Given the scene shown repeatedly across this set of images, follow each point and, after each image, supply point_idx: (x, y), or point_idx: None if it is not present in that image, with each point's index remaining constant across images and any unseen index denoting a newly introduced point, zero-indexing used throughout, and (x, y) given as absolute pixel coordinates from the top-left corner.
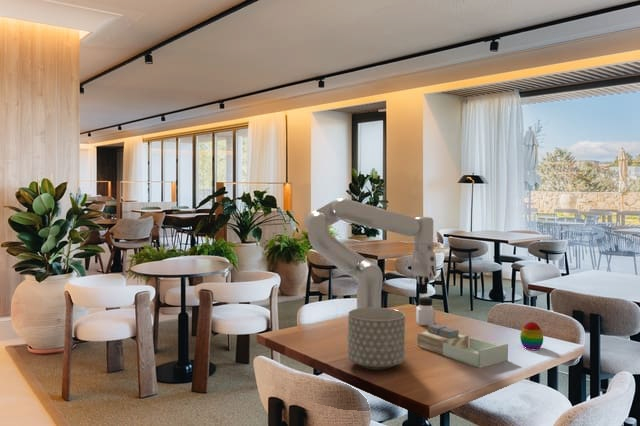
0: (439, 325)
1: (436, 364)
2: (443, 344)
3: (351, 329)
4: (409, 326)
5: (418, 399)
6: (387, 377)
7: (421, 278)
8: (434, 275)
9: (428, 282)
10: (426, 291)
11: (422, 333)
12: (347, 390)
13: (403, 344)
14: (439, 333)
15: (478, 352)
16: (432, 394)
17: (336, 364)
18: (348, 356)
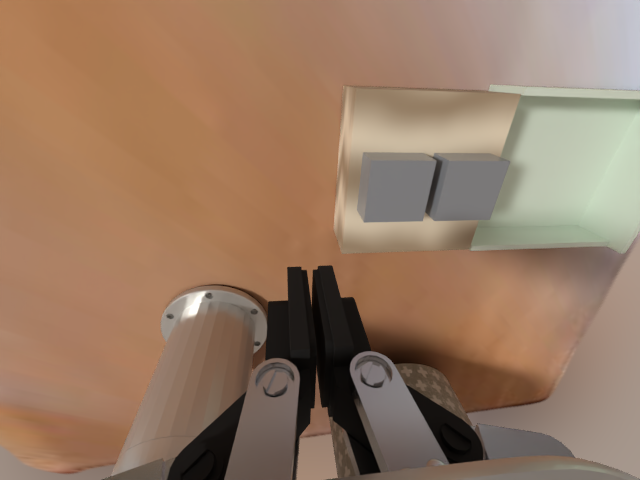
0: (397, 172)
1: (472, 291)
2: (470, 248)
3: None
4: (9, 3)
5: (525, 399)
6: None
7: (258, 449)
8: (590, 477)
9: (396, 375)
10: (352, 302)
11: (357, 241)
12: None
13: (468, 418)
14: (426, 212)
15: (613, 249)
16: (535, 378)
17: (327, 426)
18: None
